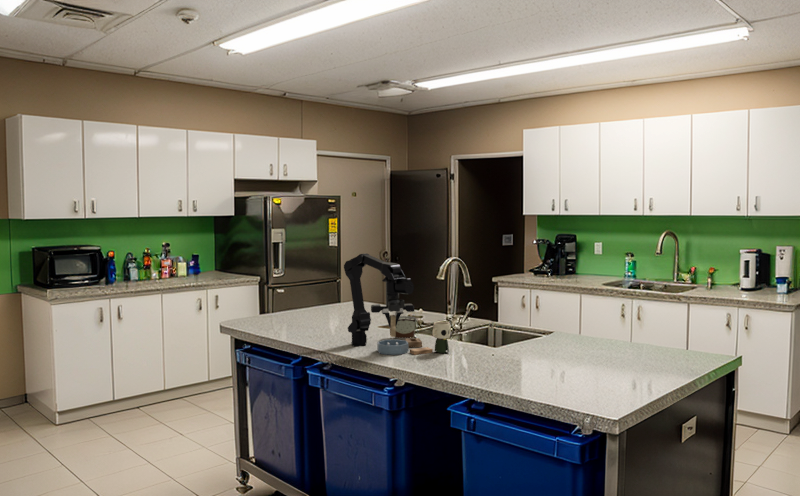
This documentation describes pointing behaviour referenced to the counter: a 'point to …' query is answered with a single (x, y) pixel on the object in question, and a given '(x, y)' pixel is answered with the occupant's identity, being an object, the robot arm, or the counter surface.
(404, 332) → the food container
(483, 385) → the counter surface
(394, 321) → the bar
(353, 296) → the robot arm
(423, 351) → the tapered wooden plank
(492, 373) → the counter surface
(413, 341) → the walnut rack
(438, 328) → the character mug
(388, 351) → the blue octagonal bowl
